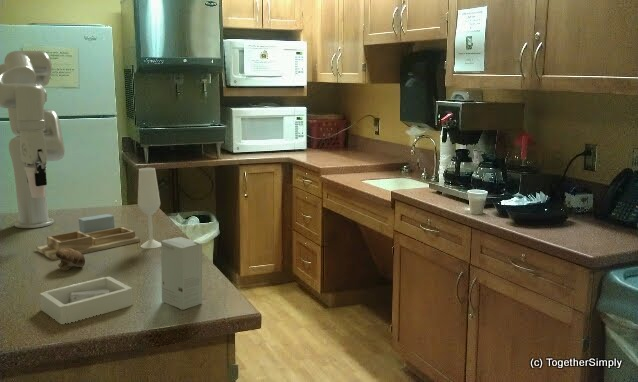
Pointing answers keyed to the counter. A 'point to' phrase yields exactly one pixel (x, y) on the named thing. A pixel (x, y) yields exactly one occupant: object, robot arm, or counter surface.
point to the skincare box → (181, 272)
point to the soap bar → (85, 295)
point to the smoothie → (35, 190)
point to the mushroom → (70, 258)
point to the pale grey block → (96, 223)
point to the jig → (88, 241)
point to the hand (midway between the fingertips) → (37, 183)
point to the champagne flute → (148, 200)
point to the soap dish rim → (86, 300)
